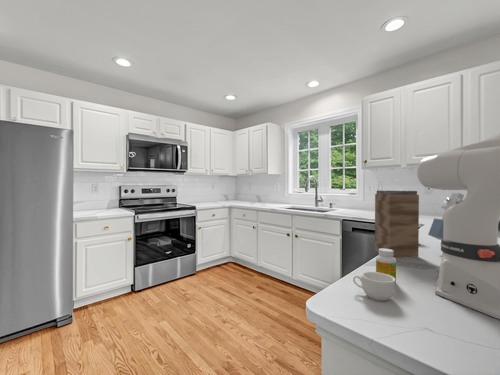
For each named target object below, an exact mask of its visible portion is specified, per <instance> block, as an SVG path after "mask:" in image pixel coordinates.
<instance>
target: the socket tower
mask: <svg viewBox="0 0 500 375" xmlns="http://www.w3.org/2000/svg"><path fill="white" fill-rule="evenodd" d="M374 197H375V198H374V253H375V252H376V253H377V254H379V249H381V248H384V249H391V250H393V251H394V256H393V257H394V258H418V257H419V242H420V241H419V235H420V233H419V232H420V231H419V229H420V228H419V227H420V226H419V222H420V221H419V218H420V216H419V215H420V204H419V203H420V195H419V194H418V191H417V190H376V193H375V194H374Z"/></svg>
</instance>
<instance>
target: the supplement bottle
mask: <svg viewBox="0 0 500 375" xmlns="http://www.w3.org/2000/svg"><path fill="white" fill-rule="evenodd" d="M393 256H394V251H393V250H391V249H384V248H381V249H379V253H378V255H377V256H376V258H375V259H376V260H375V272H379V273H384V274H387V275H390V276H392V277H394V278H395V285H396V284H397V259H396V257H393Z"/></svg>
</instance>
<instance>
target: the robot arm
mask: <svg viewBox="0 0 500 375" xmlns="http://www.w3.org/2000/svg"><path fill="white" fill-rule="evenodd" d="M416 176H417V179H418V181H419V183H420V184H421V185H422V186H424V187H425V188H429V189H435V190H440V191H441V190H442V191H466V196H465V198H463V199H456V202H457V203H458V204H455V205H453V206H451V207H449V208H448V209H447V210H446V207H447V205H448V202H449V199H450V197H446V198H445V200H443V201H442V203H441V205H440V206H441V209H443V210H444V212H443V215H442V218H443V238H442V239H441V240H440V251H441V252H442V255H441V260H440V261H441V262H440V268H439V271H438V272H439V273H438V279H437V281H436V284H435V292H434V293H435V294H436V295H438V296H440V297H443V298H445V299H448V300H450V301H453V302H456V303H458V304H460V305H463V306H465V307H468V308H470V309H472V310H473V309H474V310H475V311H478V312H481V313H483V314H485V315H487V316H491V317H493V318H496V319H498V320H500V244H499V243H498V239H499V238H500V133H498V134H494V135H492V136H490V137H488V138H486V139H483V140H481V141H478V142H475V143H471V144H467V145H464V146H460V147H457V148H456V147H455V148H453V149H450V150H447V151H444V152H440V153H437V154H434V155H431V156H430V155H428V156H427V157H424V158H423V159H422V160H420V162H419V164H418V166H417V169H416ZM445 210H446V211H445Z"/></svg>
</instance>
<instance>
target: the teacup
mask: <svg viewBox="0 0 500 375" xmlns="http://www.w3.org/2000/svg"><path fill="white" fill-rule="evenodd" d="M356 278H357V279H359V281H360V283H361V284H359V283H357V282H356ZM352 281H353V283H354V284H355V286H357V287H358V288H361V289H362V290H363V292H364V294H365V295H366V297H369V299H371V300H374V301H378V302H385V301H388V300H390V299H391V298H392V297H394V293H395V287H396V284H395V278H394V277H392V276H390V275H387V274H384V273H379V272H376V271H364V272H362V273H361V276H360V275H354V276H353V279H352Z"/></svg>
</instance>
